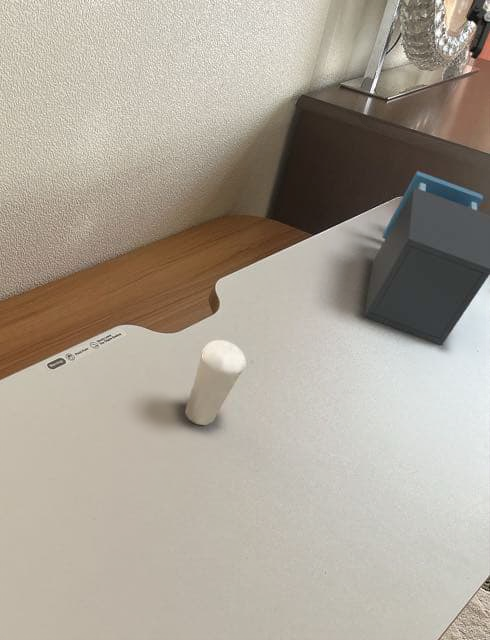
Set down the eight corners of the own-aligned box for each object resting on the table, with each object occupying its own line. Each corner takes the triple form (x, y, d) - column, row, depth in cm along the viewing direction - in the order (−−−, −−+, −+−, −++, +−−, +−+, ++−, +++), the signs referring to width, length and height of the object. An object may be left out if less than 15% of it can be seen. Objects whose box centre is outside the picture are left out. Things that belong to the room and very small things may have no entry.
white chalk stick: (214, 440, 93) (247, 368, 85) (171, 414, 94) (201, 341, 86) (232, 419, 96) (267, 347, 88) (190, 394, 97) (221, 321, 89)
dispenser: (372, 263, 123) (413, 186, 114) (444, 290, 122) (491, 215, 114) (364, 316, 114) (408, 238, 105) (441, 345, 114) (493, 269, 105)
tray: (384, 220, 129) (418, 157, 122) (445, 243, 129) (482, 181, 122) (376, 279, 119) (412, 214, 111) (442, 303, 118) (483, 240, 111)
